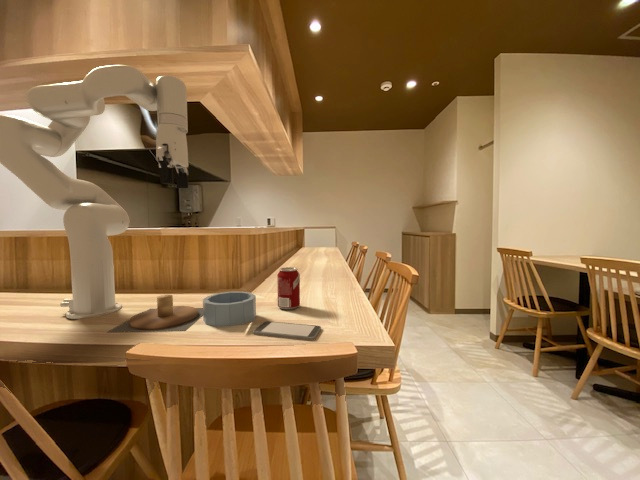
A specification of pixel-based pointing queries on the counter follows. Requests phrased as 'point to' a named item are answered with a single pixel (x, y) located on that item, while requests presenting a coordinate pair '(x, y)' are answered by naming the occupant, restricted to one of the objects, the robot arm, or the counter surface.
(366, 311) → the counter surface
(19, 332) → the counter surface
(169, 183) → the robot arm
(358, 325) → the counter surface
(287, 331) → the smartphone
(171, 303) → the lid
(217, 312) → the bowl
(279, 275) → the soda can
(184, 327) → the mat
